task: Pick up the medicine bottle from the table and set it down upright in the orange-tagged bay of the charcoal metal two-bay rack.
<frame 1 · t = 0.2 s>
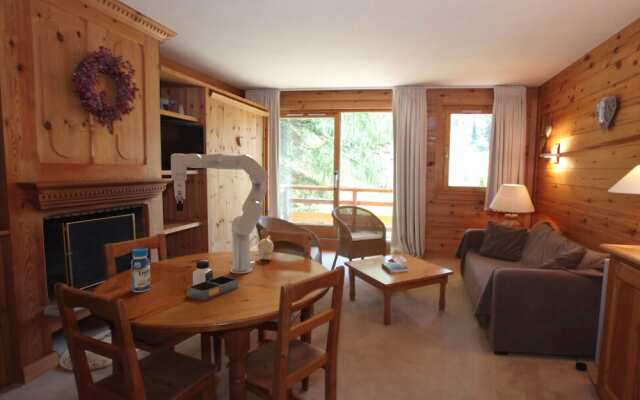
hand: (179, 209, 193), 37 cm above the table, tool pointing down, fingers open, 9 cm apart
rack: (213, 291, 176), on the table
medicine bottle: (203, 284, 187), on the table
beverage bottle: (141, 290, 177), on the table
kitten: (266, 259, 237), on the table
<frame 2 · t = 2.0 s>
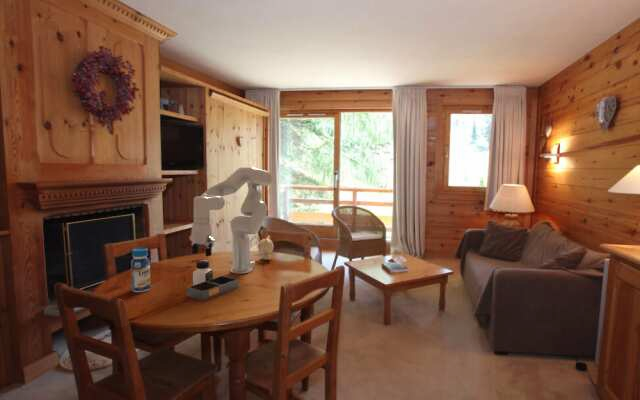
hand: (201, 254, 185), 15 cm above the table, tool pointing down, fingers open, 9 cm apart
nothing on the table moved.
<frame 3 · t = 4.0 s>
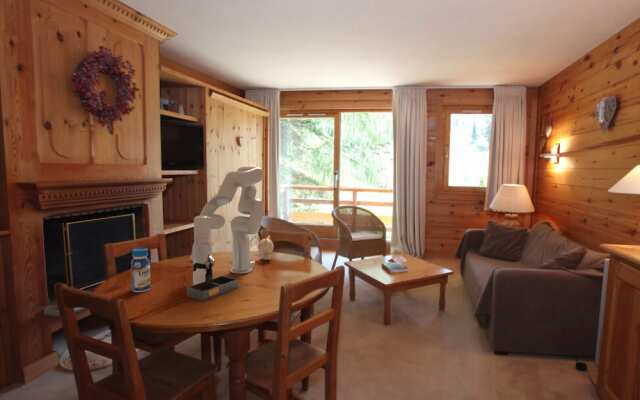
hand: (202, 273, 186), 5 cm above the table, tool pointing down, fingers closed on medicine bottle, 8 cm apart
medicine bottle: (202, 284, 187), on the table, touching gripper
everything else where it was.
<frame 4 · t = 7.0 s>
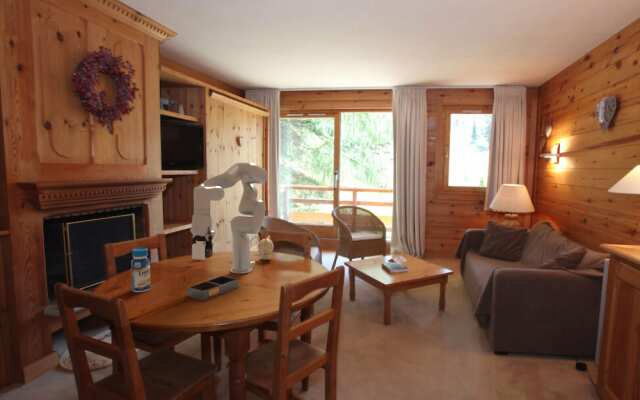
hand: (202, 247, 179), 21 cm above the table, tool pointing down, fingers closed on medicine bottle, 8 cm apart
medicine bottle: (202, 258, 179), point 15 cm above the table, touching gripper
everything else where it was.
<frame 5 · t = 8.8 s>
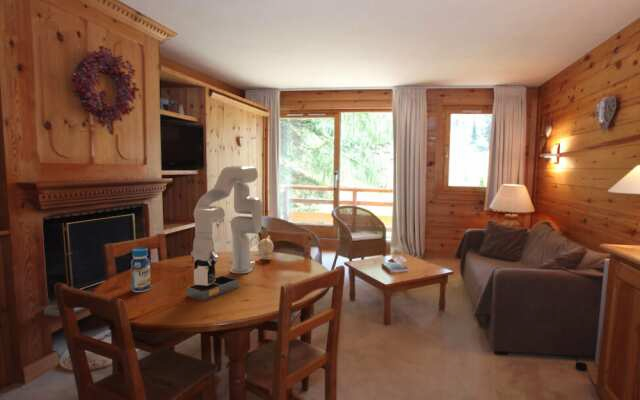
hand: (204, 271, 170), 11 cm above the table, tool pointing down, fingers closed on medicine bottle, 8 cm apart
medicine bottle: (204, 283, 171), point 5 cm above the table, touching gripper
everything else where it was.
when the fingers open (7 cm above the table, at t = 10.3 s): medicine bottle stays where it is, resting on rack.
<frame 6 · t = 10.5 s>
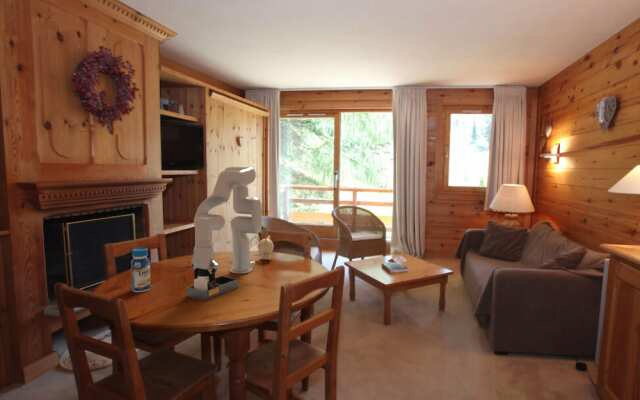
hand: (204, 279, 171), 7 cm above the table, tool pointing down, fingers open, 9 cm apart
medicine bottle: (205, 293, 171), point 1 cm above the table, touching rack
everything else where it was.
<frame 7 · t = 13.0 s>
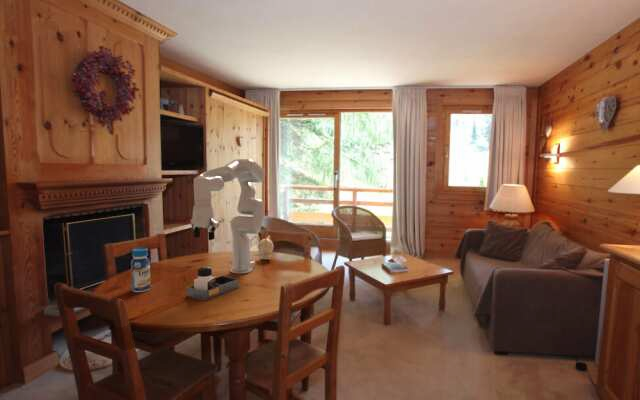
hand: (204, 238, 176), 25 cm above the table, tool pointing down, fingers open, 9 cm apart
nothing on the table moved.
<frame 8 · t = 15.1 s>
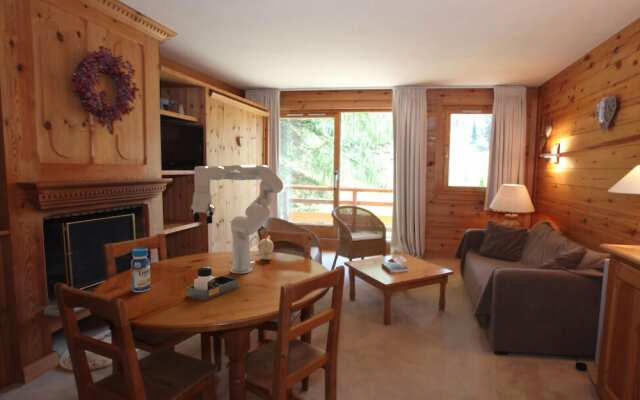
hand: (203, 222, 192), 30 cm above the table, tool pointing down, fingers open, 9 cm apart
nothing on the table moved.
at the end: medicine bottle 0.3 cm from the target spot on the rack, point 0.6 cm above the rack's base; medicine bottle tilted 0°; the gripper is holding nothing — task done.
